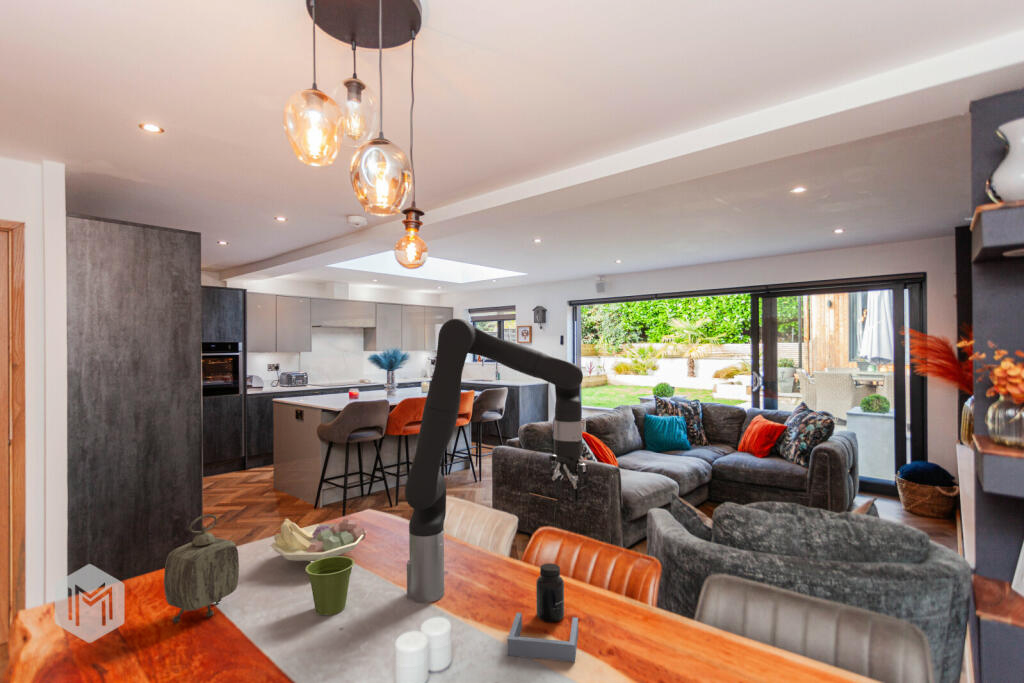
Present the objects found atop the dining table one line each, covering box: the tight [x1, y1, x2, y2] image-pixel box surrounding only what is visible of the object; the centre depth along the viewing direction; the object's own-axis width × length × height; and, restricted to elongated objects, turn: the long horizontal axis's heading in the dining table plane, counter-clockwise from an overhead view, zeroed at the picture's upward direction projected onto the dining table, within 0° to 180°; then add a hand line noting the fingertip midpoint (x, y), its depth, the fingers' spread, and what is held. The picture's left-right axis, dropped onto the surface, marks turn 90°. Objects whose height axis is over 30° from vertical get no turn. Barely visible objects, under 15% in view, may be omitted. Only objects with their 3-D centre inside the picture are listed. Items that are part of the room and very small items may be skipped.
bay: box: [506, 612, 579, 663], centre depth 114 cm, size 14×11×4 cm
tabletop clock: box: [163, 513, 240, 624], centre depth 129 cm, size 14×9×25 cm, turn 154°
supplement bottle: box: [535, 562, 565, 623], centre depth 126 cm, size 7×7×12 cm
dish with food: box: [270, 518, 368, 562], centre depth 162 cm, size 28×28×14 cm
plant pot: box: [305, 555, 355, 616], centre depth 131 cm, size 12×12×11 cm
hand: (567, 498), depth 136 cm, fingers open, 8 cm apart
